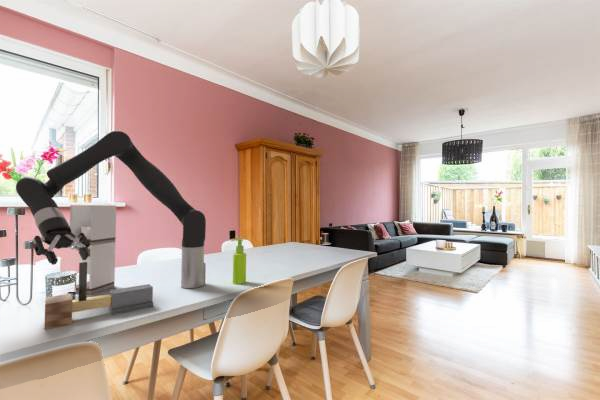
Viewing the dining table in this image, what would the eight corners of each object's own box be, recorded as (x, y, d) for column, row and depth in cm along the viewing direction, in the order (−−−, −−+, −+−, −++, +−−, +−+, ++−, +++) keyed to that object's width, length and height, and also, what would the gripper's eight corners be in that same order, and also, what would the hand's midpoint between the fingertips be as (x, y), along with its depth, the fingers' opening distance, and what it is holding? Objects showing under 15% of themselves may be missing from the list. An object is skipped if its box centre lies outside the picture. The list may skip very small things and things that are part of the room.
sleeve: (148, 301, 104) (148, 283, 104) (153, 306, 98) (153, 287, 98) (108, 309, 96) (109, 289, 96) (111, 315, 90) (112, 294, 91)
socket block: (70, 315, 90) (71, 293, 90) (71, 323, 83) (72, 299, 84) (45, 320, 86) (45, 297, 86) (44, 329, 80) (45, 304, 80)
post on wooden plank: (125, 300, 97) (126, 257, 98) (127, 302, 95) (128, 258, 95) (56, 312, 85) (58, 264, 86) (56, 315, 83) (58, 265, 84)
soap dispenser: (231, 281, 133) (232, 238, 133) (246, 280, 134) (247, 238, 134) (229, 284, 127) (230, 239, 128) (245, 284, 128) (245, 239, 128)
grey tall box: (92, 284, 125) (95, 205, 126) (114, 286, 123) (116, 205, 124) (67, 292, 113) (70, 205, 114) (91, 294, 112) (93, 205, 113)
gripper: (29, 216, 88) (49, 256, 84) (80, 215, 101) (99, 249, 97) (20, 232, 90) (38, 272, 86) (71, 229, 103) (89, 264, 99)
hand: (71, 260), depth 91 cm, fingers open, 8 cm apart
